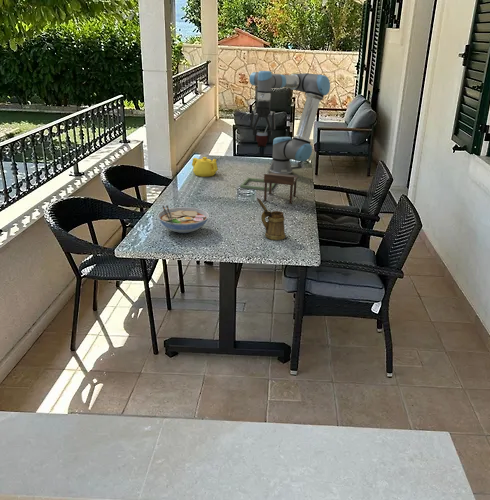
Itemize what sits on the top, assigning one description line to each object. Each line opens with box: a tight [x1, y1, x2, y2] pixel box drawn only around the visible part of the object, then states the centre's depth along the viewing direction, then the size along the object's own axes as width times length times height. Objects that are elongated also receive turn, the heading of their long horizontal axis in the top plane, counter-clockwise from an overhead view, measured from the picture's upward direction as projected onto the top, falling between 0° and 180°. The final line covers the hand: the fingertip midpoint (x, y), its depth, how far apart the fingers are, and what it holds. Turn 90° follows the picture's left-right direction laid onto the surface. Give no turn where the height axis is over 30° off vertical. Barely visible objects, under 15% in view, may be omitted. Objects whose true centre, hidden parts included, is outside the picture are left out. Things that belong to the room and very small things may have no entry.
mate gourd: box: [255, 120, 272, 148], centre depth 289 cm, size 8×8×15 cm
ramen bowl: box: [157, 204, 210, 234], centre depth 227 cm, size 25×23×8 cm
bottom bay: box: [240, 177, 276, 192], centre depth 302 cm, size 18×18×2 cm
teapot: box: [191, 156, 219, 178], centre depth 319 cm, size 20×18×11 cm
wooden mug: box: [256, 197, 286, 241], centre depth 223 cm, size 9×14×18 cm, turn 94°
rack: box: [263, 172, 299, 205], centre depth 277 cm, size 16×16×15 cm
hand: (262, 141), depth 290 cm, fingers closed on mate gourd, 7 cm apart
